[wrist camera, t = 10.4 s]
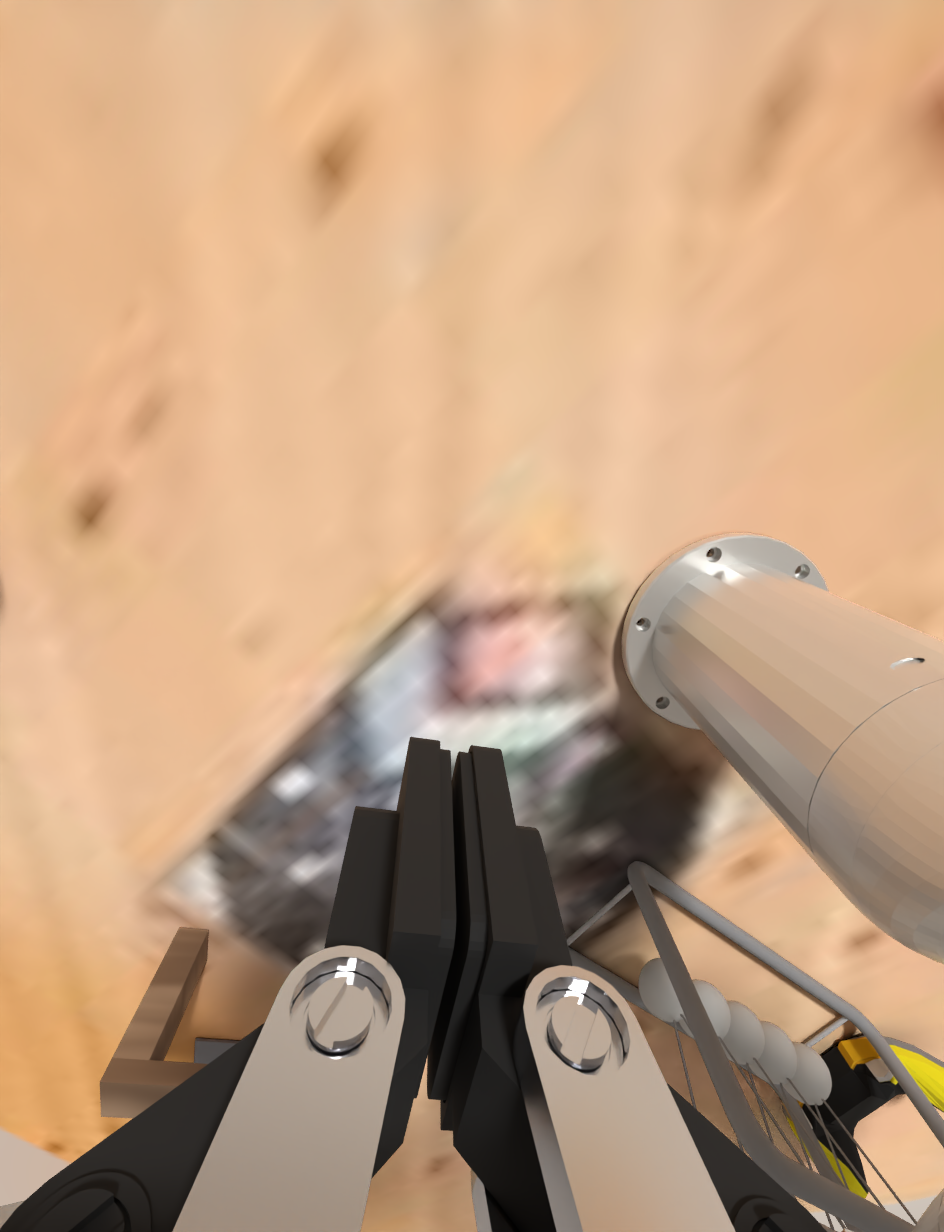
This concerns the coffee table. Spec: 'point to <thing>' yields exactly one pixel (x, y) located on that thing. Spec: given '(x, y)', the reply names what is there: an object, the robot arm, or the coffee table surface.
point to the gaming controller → (865, 1096)
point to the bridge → (155, 1033)
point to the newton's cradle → (757, 1054)
